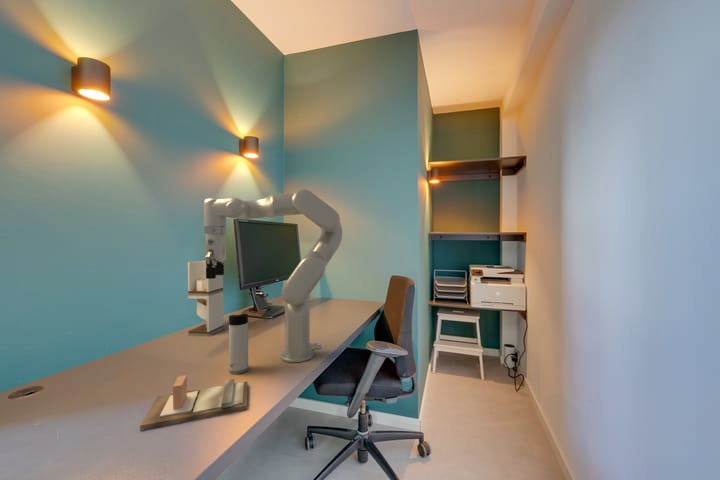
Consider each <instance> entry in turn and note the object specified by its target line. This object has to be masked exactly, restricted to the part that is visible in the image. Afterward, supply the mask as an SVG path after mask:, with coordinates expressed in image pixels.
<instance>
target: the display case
mask: <svg viewBox="0 0 720 480" xmlns="http://www.w3.org/2000/svg"><path fill="white" fill-rule="evenodd" d="M212 263H213V262H212ZM215 265H216V264H215ZM187 299H195V300H196V315H197V316H198V317H199V318H201V319H202V320H204V321H205V322H204V324H202V325H199V326H197V327H194V328H192V329H191V330H188V336H194V337H195V336H196V337H210V335H211V336H212V335H215V334H217V333H218V332H220V331H222V330H224V275H216V278H215V279H206V260H197V261H188V262H187ZM221 329H222V330H221ZM219 330H220V331H219Z"/></svg>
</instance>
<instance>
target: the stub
mask: <svg viewBox="0 0 720 480" xmlns="http://www.w3.org/2000/svg"><path fill="white" fill-rule="evenodd" d="M187 376H188V375H187V374H185V375H184V374H183V375H180V376H178V377H177V379H176V380H175V382H174V384H173V386H172V394H173V395H171V396H170V397H169V399H168V401H167V403H166V405H165V407H164V409H163V410H162V412H161V414H160V417H165V416H170V415H175V414H181V413H186V412H191V411H192V408H193V405H194V402H195V400H196V396H197V394H198V391H195V392H189V393H187V391H188V389H187V387H188V386H187V385H188V383H187V380H188V377H187Z"/></svg>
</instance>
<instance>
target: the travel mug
mask: <svg viewBox="0 0 720 480" xmlns="http://www.w3.org/2000/svg"><path fill="white" fill-rule="evenodd" d="M228 363H229V364H228V371H229V373H230V374H231V375H232V374H233V375H238V374H239V375H240V374H244V373H246V372H247V371H248V370H249V314H248V313H240V314H230V315H228Z"/></svg>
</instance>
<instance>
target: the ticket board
mask: <svg viewBox="0 0 720 480" xmlns="http://www.w3.org/2000/svg"><path fill="white" fill-rule="evenodd" d="M248 382H249V381H248V380H246V381H240V382H235V378H230V379H229V378H228V379H226V380H225V383H224V384H223V385H216V386H210V387H205V388H198V389H191V390H187V393H189V392H195V391H198V394H197V396H196V400H195V402H194V405H193V408H192V411H191V412H186V413H181V414H175V415H170V416H165V417H160V414H161V412H162V410H163V409H164V407H165V405H166V403H167V401H168V399H169V397H170V396H171V395H173V393H169V394H162V395H158V396H157V397H156V398H155V400H154V402H153V403H152V405H151V406H150V408H149V410H148V412H147V413H146V415H145V417H144V419H143V420H142V422H141V423H140V425H139V431H143V430H142V429H145V430H149V428H151V429H155V427H156V428H159V427H165V426H171V425H175V424H179V423H180V424H181V423H186V422H191V421H195V420H201V419H206V418H212V417H217V416H221V415H226V414H227V415H228V414H231V413H236V412H241V411H247V409H248V407H247V406H248V385H249V383H248ZM216 415H217V416H216ZM185 421H186V422H185Z"/></svg>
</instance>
